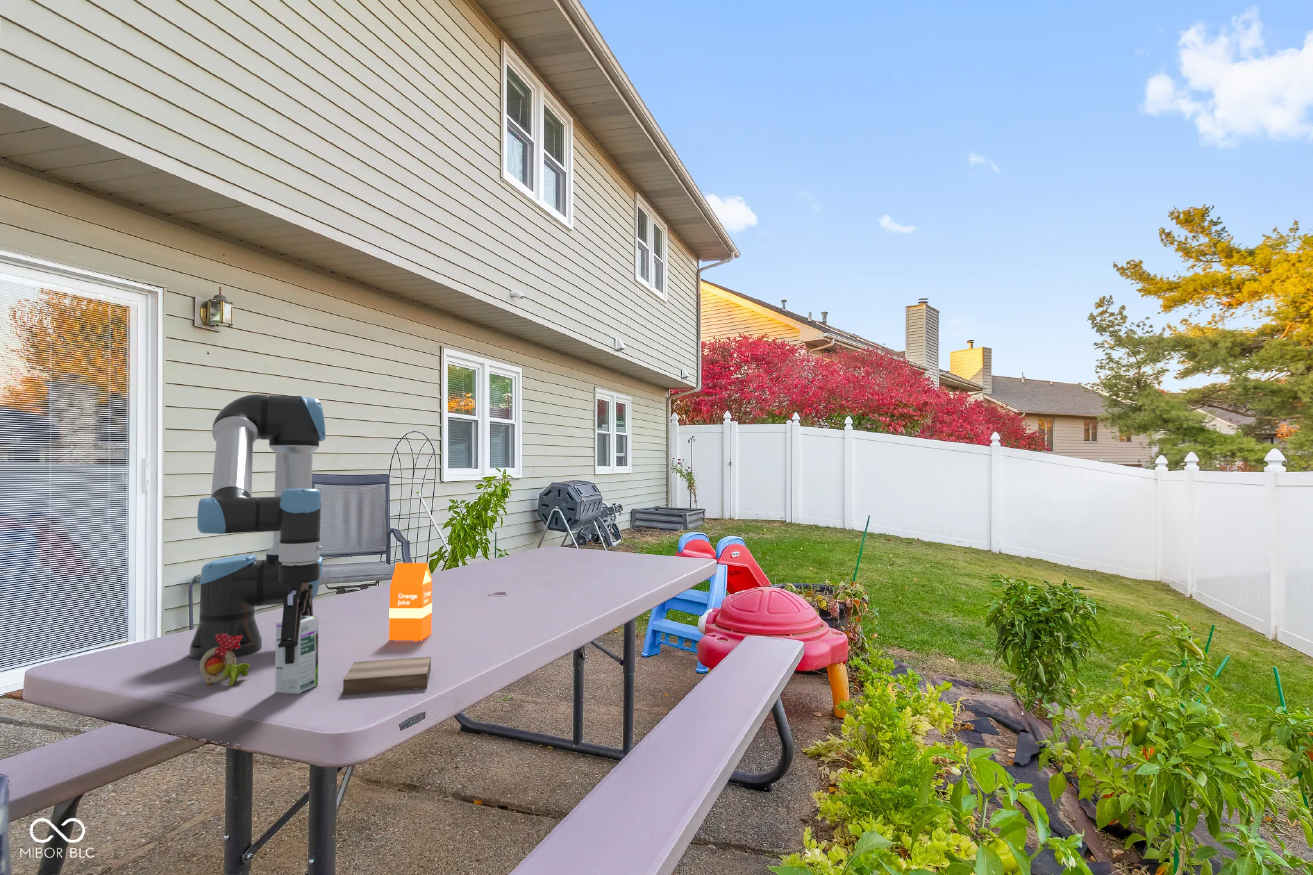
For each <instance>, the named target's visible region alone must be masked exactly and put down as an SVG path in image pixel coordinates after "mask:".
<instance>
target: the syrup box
mask: <svg viewBox="0 0 1313 875" xmlns="http://www.w3.org/2000/svg"><path fill="white" fill-rule="evenodd" d="M281 629H282V620H279V621H276V622H275V654H274V655H275V659H274V662H275V664H274V666H275V667H274V668H275V669H274V670H275V673H274V675H275V676H274V678H275V679H274V680H275V681H274V682H275V683H274V690H275V691H274V692H275V693H279V694H288V695H290V694H291V695H299V694H301V693H303V692H306V691H308V690H310V689H312V688H314V687H317V686H318V685H319V617H318V616H314V615H313V616H301V622H300V629H299V636H298V645H299V670H298V679H291V680H282V674H283V647H281V648H279V647H278V644H280V641H281ZM287 640H290V639H287Z"/></svg>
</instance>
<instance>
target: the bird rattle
mask: <svg viewBox="0 0 1313 875" xmlns="http://www.w3.org/2000/svg"><path fill="white" fill-rule="evenodd" d="M242 637H243V635H238V636H228V635H227V634H225V633H223V634H222V635H221V634H217V635H216V636H215V639H216V640H217V642H218V643H219V645H220V646H219V647H215V648H213V649H210V650H209V651H208V652H206V653H205V654H204V656H203V657H202V659H200V660H199V672H200V674H201V676H202V678H203V679H204V680H205V683H206V685H207V686H210V685H212V684H215V683H221V682H224V681H225V680H228V679H229V680H228V685H229V686H230V687H232V686H234V683H235V681H236V680H238V678H239V677H240V675H241V676H243V677H247V676H249V672H248V670H249V669H250V667H251V666H250V664H249V663H245V662H243V663H239V664H237V657H235V655H234V653H233V652H232V648H233V649H239V648H240V644H239V642H240V640H241V639H242ZM214 655H217V656H215V657H213V656H214Z"/></svg>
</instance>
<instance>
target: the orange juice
mask: <svg viewBox="0 0 1313 875" xmlns="http://www.w3.org/2000/svg"><path fill="white" fill-rule="evenodd" d="M388 611H389V613H388V614H389V616H388V618H389V620H388V623H389V625H388V641H389V640H414V641H413V642H422V641H424V640H425V639H427V636H428V637H429V636H431V635H432V624H433V623H432V621H433V619H432V616H433V613H432V612H433V579H432V576H431V571H430V568H429V563H428V562H396V564H395V567H394V570H393V575H392V578H391V582H390V584H389V608H388ZM424 638H425V639H424ZM423 639H424V640H423ZM419 640H421V641H419Z"/></svg>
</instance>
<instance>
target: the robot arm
mask: <svg viewBox="0 0 1313 875" xmlns="http://www.w3.org/2000/svg"><path fill="white" fill-rule="evenodd" d="M325 423H326V422H325V415H324V409H323V405H322V403H321V401H320V399H318V398H316V397H311V396H302V395H299V396H298V395H276V394H275V395H274V394H273V395H272V394H258V393H257V394H256V393H255V394H249V395H248V394H247V395H244V396H241V397H239V398H237V399H235V400H233V401H231V402H230V403H228V404H227V405H225V406H224V407H223V408H222V410H220V411H219V413H218V414H216V417H215V419H214V421H213V425H212V430H211V432H212V434H211V435H212V438H213V440H214V441H215V452H214V464H213V473H212V484H211V492H210V493H211V494H210V497H204V498H200V500H199V501H198V504H197V506H198V507H197V530H198V531H199V533H201V534H207V535H208V534H214V535H215V534H219V535H224V534H241V533H243V534H244V533H256V532H257V533H258V532H259V533H260V532H261V533H263V532H265V533H266V532H273V533H272V534H273V536H272V537H273V538H272V541H273V544H272V546H271V547H270V548H269V549H268V550H267V551H266V553H265V554H266V555H265V559H258V558H257V556H256V554H241V555H235V556H229V557H223V558H219V559H215V560H211V561H209V562H206V563H205V564H203V566H202V568H201V571H200V572H201V573H200V581H199V585H200V595H199V598H200V599H199V620H198V626H197V628H196V631H195V634H194V635H193V639H192V641H191V643H190V646H189V657H190V658H191V659H194V660H201V659H202V657H203V656H204V654H205V653H206V652H208V651H209V650H210V649H213V648H215V647H219V646H220V645H219V643H218V642H217V640H216V639H215V636H216V635H217V634H221V635H222V634H223V633H225V634H227V635H228V636H238V635H243V637H242V639H241V640H240V642H239V644H240V648H239V649H233V648H232V652H233V653H234V655H235V657H236V658H237V657H241V656H245V655H249V654H253V653H255V652H257V651H259V650H261V648H262V647H263V646H262V644H263V643H262V642H263V640H262V636H261V633H260V630H259V627H258V625H257V621H256V619H255V618H256V617H255V608H256V607H261V606H262V607H265V606H274V605H275V606H276V605H283V607H282V608H283V609H282V620H281V621H282V629H281V641H280V644H278V647H279V648H281V647H283V674H282V680H291V679H298V670H299V645H298V636H299V629H300V622H301V616H314V608H313V606H314V605H313V600H315V598H316V597H317V595H318V593H319V588H320V584H321V579H322V572H323V560H324V559H323V557H322V556H321V555H320V554H321V553H320V551H323V549H324V547H323V546H322V545H320V541H321V537H320V535H321V514H322V513H321V511H322V510H321V509H322V508H321V507H323V506H322V504H323V503H322V497H321V495H322V494H321V491H320V490H319V489H318V488H313V486H312V485H313V454H314V453H315V452H316V451H317V450H318V449H319V448H320V442H324V441H325V440H326V424H325ZM257 440H267V441H269V442H268V446H269V447H268V448H270V449H271V450H272V451H273V452H274V454H275V458H274V459H275V460H274V461H275V462H274V463H275V465H274V470H275V471H274V496H252V495H253V493H252V489H253V488H252V487H253V486H252V485H253V483H252V482H253V462H254V461H253V460H254V459H253V456H254V454H253V453H254V443H255V442H256V441H257ZM287 639H290V640H287ZM215 656H217V655H214V656H213V657H215Z"/></svg>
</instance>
